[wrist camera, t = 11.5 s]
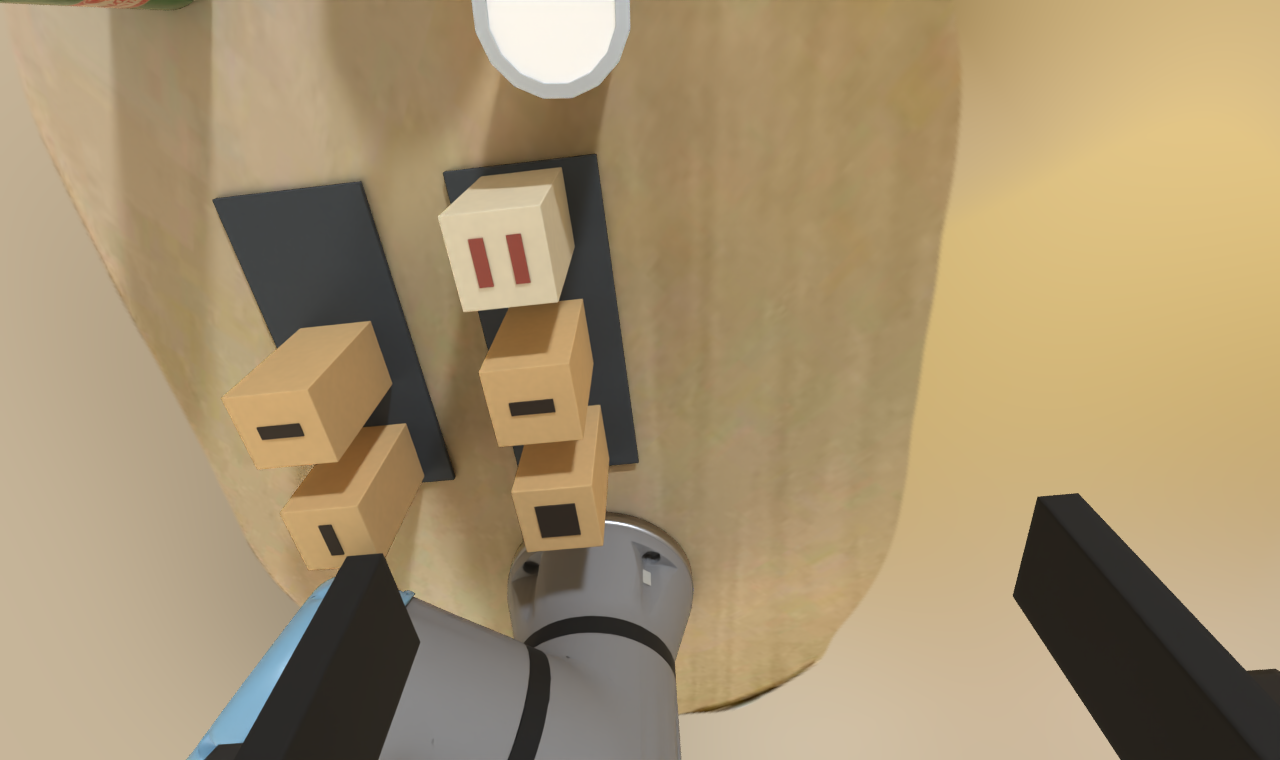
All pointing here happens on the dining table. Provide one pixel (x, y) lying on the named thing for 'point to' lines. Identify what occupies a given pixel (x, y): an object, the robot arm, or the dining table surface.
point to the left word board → (333, 287)
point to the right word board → (578, 284)
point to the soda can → (111, 3)
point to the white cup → (553, 42)
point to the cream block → (509, 240)
